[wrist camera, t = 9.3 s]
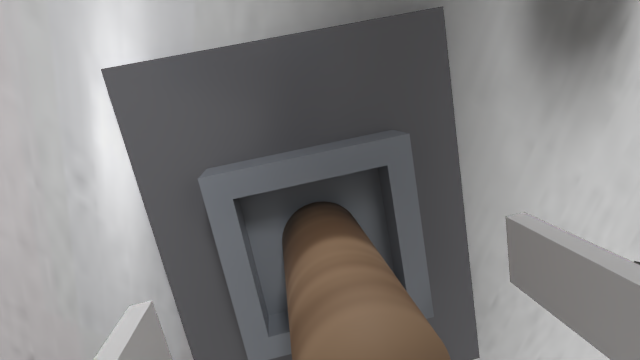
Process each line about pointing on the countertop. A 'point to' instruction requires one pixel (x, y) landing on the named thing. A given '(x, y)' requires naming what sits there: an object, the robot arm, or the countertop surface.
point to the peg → (347, 294)
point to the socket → (299, 171)
